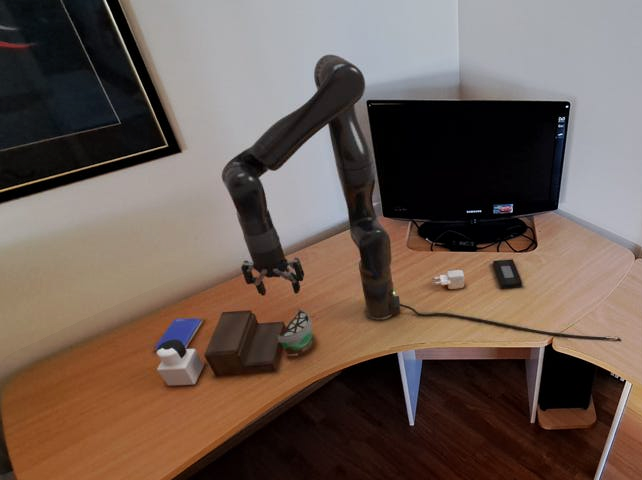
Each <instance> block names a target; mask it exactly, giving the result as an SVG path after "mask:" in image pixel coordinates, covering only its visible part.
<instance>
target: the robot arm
mask: <svg viewBox="0 0 642 480" xmlns="http://www.w3.org/2000/svg"><path fill="white" fill-rule="evenodd" d="M313 78H314V84H315V87H316V92H315V93H314V94H313V96H312V97H310V99H308V100H307V101H306V102H305V103H304V104H303V105H301V106H300V107H299V108H297V109H295V110H293V111H291V112H290V113H288V114H287V115H285V116H283V117H281V118H280V119H279V120H277V121H276V122H275V123H273V124H271V125H270V126H269V128H268V129H267V130H266V131H264V133H263V134H262V135H261V136H260V137H258V139H256V141H255V142H254V143H253V145H251V146H250V147H248V148H245V149H244V150H242V151H241V152H240V153H238V154H236V155H235V156H234V157H233V158H232V159H230V160H229V161H228V162H227V164H225V166H224V167H223V169H222V170H221V171H222V172H221V179H222V183H223V185H224V186H225V188H226V190H227V192H228V194H229V196H230V199H231V200H232V203H233V205H234V208H235V210H236V219H237V221H238V223H239V226H240V228H241V231H242V235H243V240H244V243H245V245H246V248H247V251H248V252H249V255H250V258H251V261H252V262H250V261H248V260H243V262H242V265H241V266H240V267H241V272H242V274H243V277H244V280H245V283H246V284H247V285H253V286H255V288H256V290H257V293H258V294H259V295H261V296H262V297H263V296H266V293H267V288H266V286H265V283H264V281H263V280H264V278H265V277H266V278H268V279H270V278H271V279H272V278H283V279H284V280H286V281H289V282H290V283H291V287H292V290H293V293H294V295H295V294H299V292H300V290H301V283H300V282H303V281H304V277H305V271H304V269H303V266H302V264H301V260H300V259H299V258H298V257H294V258H293V259H291V260H288V259H287V258H286V255H285V253H284V250H283V245H282V244H281V239H280V236H279V234H278V232H277V229H276V227H275V225H274V222H273V219H272V216H271V213H270V210H269V208H268V201H267V197H266V191H265V189H264V185H263V183H262V179H260V178H261V177H262V176H263V175H264V174H266V173H267V172H269V171H271V172H277V171H279V169H281V168H282V167H283V166H284V165H285V164H286V163H287V162H289V160H290V159H291V158H292V157H293V156H294V155H295V154H296V152H298V150H300V149H301V147H303V146H304V145H305V144H306V143H307V142H308V141H309V140H310V139H311V138H312V137H314V136H315V135H316V134H317V133H318V132H320V131H321V130H322V129H324V127H326V126H328V131H329V136H330V143H331V147H332V152H333V157H334V162H335V163H334V164H335V168H336V171H337V176H338V180H339V184H340V187H341V191H342V193H343V194H342V195H343V198H344V200H345V203H346V208H347V209H346V210H347V215H348V226H349V227H348V228H349V234H350V238H351V240H352V242H353V243H354V244H355V246H356V248H357V249H358V250H359V251H358V252H359V257H360V260H359V262H358V269H359V275H360V281H361V287H362V292H363V297H364V302H365V306H366V307H365V309H366V314H367V316H368V317H369V318H370V319H372V320H376V321H383V320H384V321H385V320H387V319H389V318H391V317H394V316H396V315H400V314H401V307H402V308H405V309H408V310H410V311H412V312H413V313H414V314H416V315H417V316H421V317H433V316H446V317H447V316H448V317H452V318H453V317H454V318H461V319H466V320H472V321H477V322H482V323H487V324H493V325H497V326H502V327H507V328H511V329H517V330H522V331H527V332H533V333H538V334H544V335H553V336H559V337H568V338H578V339H589V340H590V339H592V340H611V339H612V340H613V339H614V340H617V341H619V342H622V339H621V337H618V339H615V338H606V337H607V336H594V335H593V336H591V335H581V334H580V335H579V334H578V335H577V334H570V333H569V334H568V333H559V332H552V331H544V330H539V329H534V328H527V327H522V326H517V325H512V324H508V323H502V322H498V321H492V320H488V319H483V318H477V317H473V316H465V315H460V314H453V313H446V312H434V313H421V312H418V311H417V310H416V309H415V308H413V307H411V306H409V305H406V304H402V303H401V300H400V299H401V298H400V295H395V293H396V292H395V288H394V287H395V286H394V282H393V278H392V277H393V276H392V269H391V264H392V259H393V258H392V246H391V240H390V236H389V233H388V232H387V230H386V229H385V228H384V227H383V226H382V225H381V224H380V222H379V221H378V218H377V214H376V212H375V208H374V203H373V195H374V190H375V184H376V173H375V165H374V161H373V156H372V151H371V149H370V146H369V144H368V143H369V142H368V141H367V138H366V136H365V134H364V132H363V129H362V127H361V124H360V122H359V119H358V116H357V112H356V106H355V105H356V104H357V103H358V102H359V101H360V100H361V99H362V98H363V96H364V93H365V91H366V79H365V76H364V74H363V72H362V71H361V69H360V68H359V67H358V66H356V65H355V64H353V63H352V62H350V61H348V60H347V59H345V58H343V57H341V56H339V55H336V54H325V55H323V56H321V57H320V58H319V59H318V61H317V62H316V64H315V66H314V71H313ZM252 270H255V271H256V272H258V274H257V275H256V276H254V275H253V272H252ZM293 270H294V272H293Z"/></svg>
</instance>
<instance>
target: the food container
mask: <svg viewBox="0 0 642 480" xmlns="http://www.w3.org/2000/svg"><path fill="white" fill-rule="evenodd" d="M297 310H298V312H297V314H296V315H295V317H294V318H293V319H292V320H291V321H289V323H288V324H287V326H286V329H285V331H284V332H283V333H282V335H281V336H278V342H281V344H282V349H284V351H285V354H286V355H287V357H288V358H290V359H291V358H299V357H302V356H305V355H307V354H308V353H309V352H311V350H312V349H313V347H314V338H313V332H312V327H313V320H312V318H311V316H310V315H309V314H308V313H307V312H306V311H305V310H303V309H300V308H297Z"/></svg>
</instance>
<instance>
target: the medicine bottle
mask: <svg viewBox="0 0 642 480" xmlns="http://www.w3.org/2000/svg"><path fill="white" fill-rule="evenodd" d="M155 352H156V355H157V356H158V358H159V359H160V363H159V365H158V366H157V368H156V370H157V372H158V373H159V375H160V376H161V378H162V379H163V381H164V382H165V384H166V385H167V386H169V387H170V386H171V387H172V386H191V385H192V386H193V385H195V384H196V383H197V381H198V379H199V377H200V376H201V373H202V372H203V369H204V367H205V364H204V362H203V360H202V358H201V356H200V354H199V353H198V351H197V349H196V348H187V347H186V348H185V346H184V345H183V343H182V342H181V341H180V340H169V341H166V342H164V343H162V344H161V345H160V346H159V347H158V349H157V351H155Z"/></svg>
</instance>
